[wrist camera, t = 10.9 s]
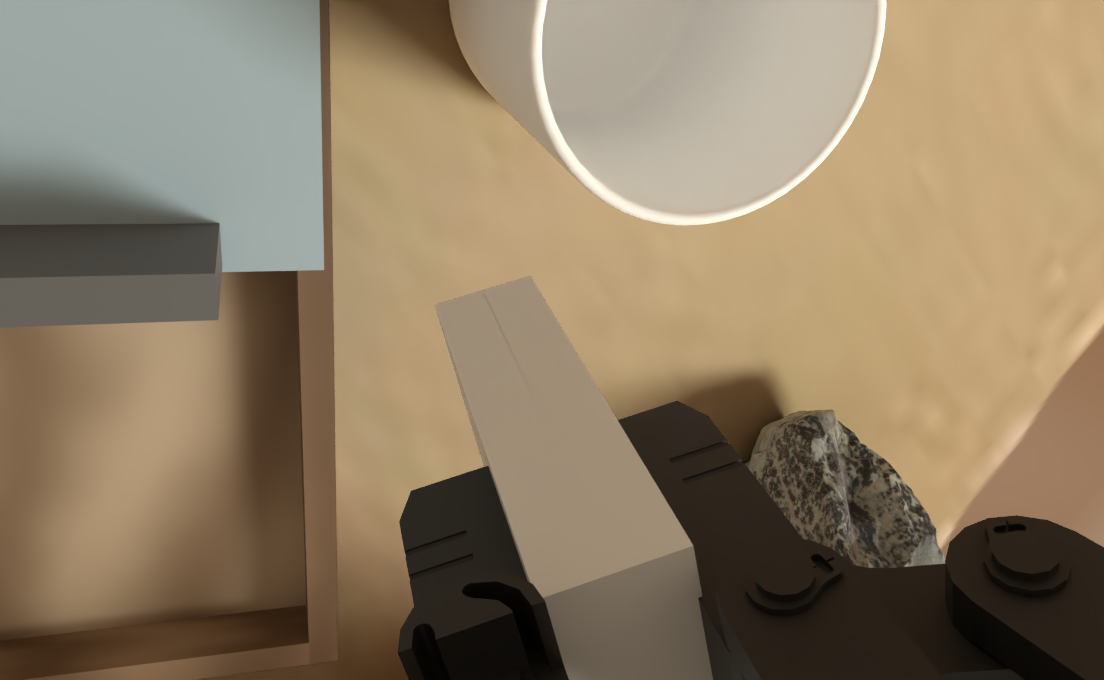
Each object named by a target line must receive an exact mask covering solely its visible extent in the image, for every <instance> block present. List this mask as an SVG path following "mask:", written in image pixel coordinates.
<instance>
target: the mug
mask: <svg viewBox="0 0 1104 680" xmlns="http://www.w3.org/2000/svg"><path fill="white" fill-rule="evenodd" d="M449 7H450V15H451V20H452V24H453V28H454V32H455V36H456V39H457V41H458V44H459V47H460V49H461V52H462V54H463V56H464V58H465V60H466V61H467V63H468V65H469V67H470V69H471V70H472V72H473V73H474V75H475V76H476V78H477V79H478V80H479V82H480V83H481V84H482V86H483V87H484V88H485V89H486V91H487V92H488V93H489V94H490V95H491V96H492V97H493V98H494V99H495V100H496V101H497V102H498V103H499V104H500V105H501V106H502V107H503V108H504V109H505V110H506V111H507V112H508V113H509V114H510V115H511V116H512V117H513V118H514V119H515V120H516V121H517V122H518V123H519V124H520V125H521V126H522V127H523V128H524V129H525V130H526V131H528V132H529V133H530V134H531V135H532V136H533V137H534V138H535V139H536V140H537V141H538V142H539V143H540V144H541V145H542V146H543V147H544V148H545V149H546V150H547V151H548V152H549V153H550V154H551V155H552V156H553V157H554V158H555V159H556V160H557V161H558V162H559V163H560V164H561V165H562V166H563V167H564V168H565V169H566V170H568V171H569V172H570V173H571V174H572V175H573V176H574V177H575V178H576V179H577V180H578V181H579V182H580V183H581V184H582V185H583V186H584V187H585V188H586V189H588V190H589V191H590V192H591V193H593V194H594V195H595V196H597V197H598V198H599V199H600V200H602V201H604V202H605V203H607V204H609V205H611V206H612V207H614V208H616V209H618V210H619V211H622V212H624V213H627V214H629V215H632V216H634V217H637V218H640V219H644V220H648V221H652V222H656V223H661V224H672V225H698V224H708V223H714V222H719V221H725V220H728V219H731V218H735V217H738V216H741V215H744V214H747V213H749V212H752V211H754V210H756V209H758V208H760V207H763V206H765V205H767V204H769V203H770V202H772V201H774V200H775V199H777V198H779V197H780V196H782V195H784V194H785V193H787V192H788V191H789V190H791V189H792V188H793V187H795V186H796V185H797V184H798V183H800V182H801V181H802V180H804V179H805V178H806V177H807V176H808V175H809V174H810V173H811V172H812V171H813V170H814V169H815V168H816V167H818V166H819V165H820V164H821V163H822V162H823V160H824V159H825V158H826V157H827V156H828V155H829V153H830V152H831V151H832V150H833V149H834V147H835V146H836V145H837V144H838V142H839V141H840V139H841V138H842V137H843V135H844V134H845V132H846V131H847V129H848V128H849V126H850V125H851V123H852V121H853V120H854V118H855V116H856V114H857V112H858V110H859V109H860V107H861V105H862V103H863V101H864V98H865V96H866V94H867V91H868V89H869V87H870V84H871V82H872V79H873V76H874V73H875V69H876V66H877V63H878V60H879V56H880V51H881V46H882V41H883V36H884V29H885V17H886V0H449Z"/></svg>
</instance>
